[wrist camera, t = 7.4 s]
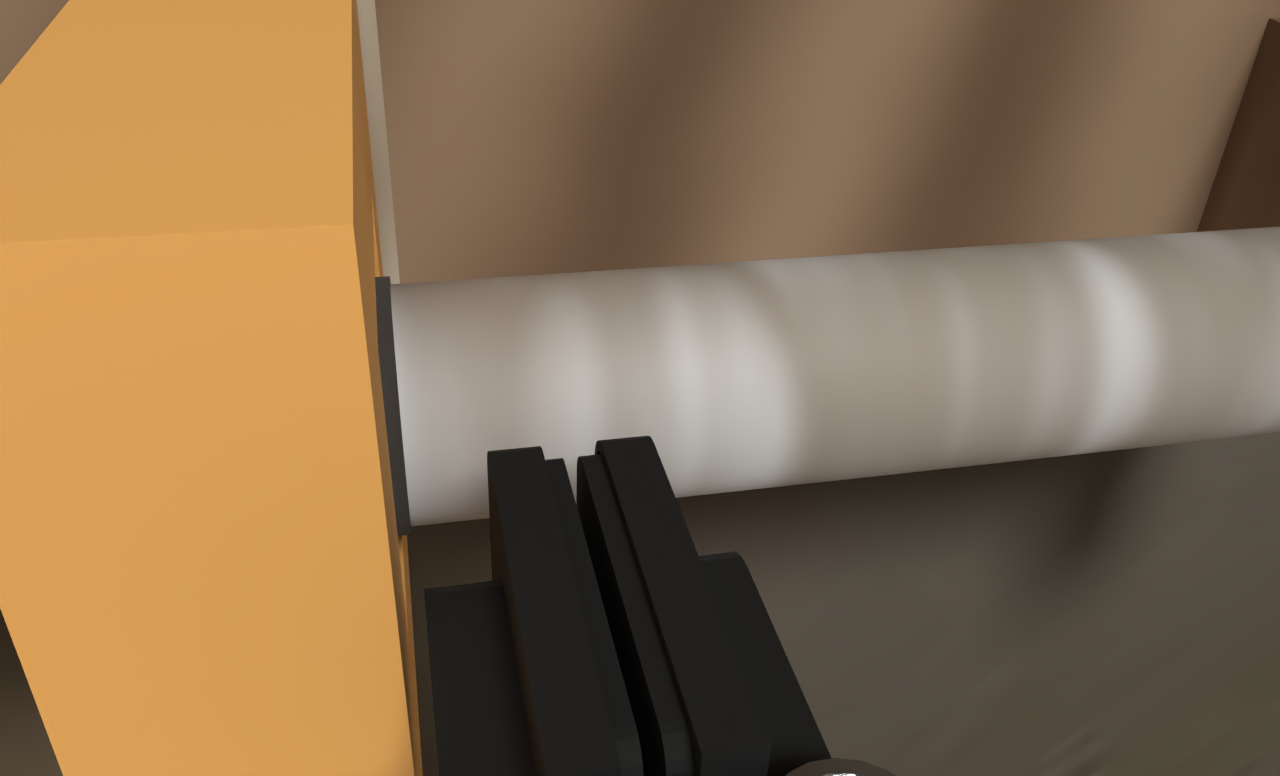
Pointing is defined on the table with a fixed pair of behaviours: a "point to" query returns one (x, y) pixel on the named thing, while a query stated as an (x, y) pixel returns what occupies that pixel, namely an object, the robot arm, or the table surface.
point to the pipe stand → (813, 232)
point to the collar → (199, 396)
